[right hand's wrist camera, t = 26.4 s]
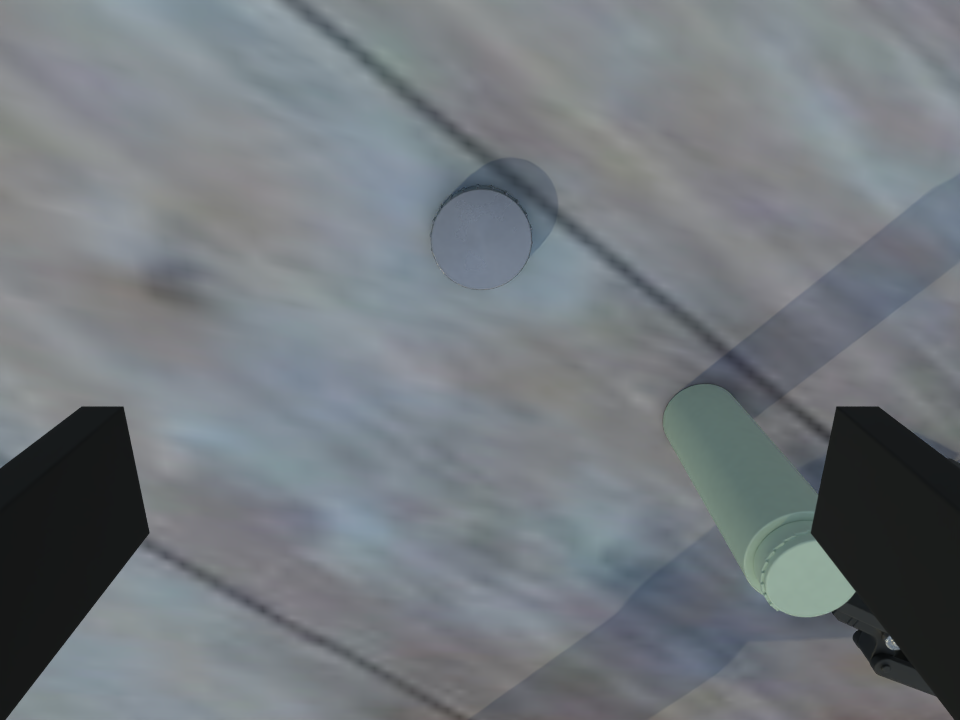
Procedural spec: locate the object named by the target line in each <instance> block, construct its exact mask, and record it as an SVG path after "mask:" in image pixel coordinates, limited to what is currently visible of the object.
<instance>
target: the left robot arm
mask: <svg viewBox="0 0 960 720" xmlns="http://www.w3.org/2000/svg"><path fill="white" fill-rule="evenodd" d="M948 460H949V461H951V462H952V463H953V464H955V465H956V466H957V467H958V468H960V463H958V462H956V461H954V460H952V459H948ZM832 613H833V615H834V616H835V617H836V618H837V619H838V620H839V621H841V622H843V623H847V624H848V625H850V626H853V627H854V628H857V629H859V630H858V631H856V632H855V633H854V635H853V641H854V642H855V644H856V645H857V646H858V648H860V649H861V651H862V652H863V654H864V655H865V657H866V658H867V660H868V661H869V662H870V665H871V667H872V668H873V670H874V671H875V673H876V674H878V675H880V676H883V677H886V678H888V679H891V680H894V681H896V682H899V683H902V684H904V685H907V686H910V687H912V688H915V689H918V690H920V691H923V692H926V693H928V694H931V695H934V696H936V695H935V694H934V692H933V691H932V690H931V689H930V687H929V686H928V685H927V683H926V682H925V681H924V680H923V678H922V677H921V676H920V674H919V673H918V672H917V670H916V669H915V668H914V667H913V665H912V664H911V663H910V661H909V660H908V659H907V657H906V656H905V655H904V654H903V652H902V651H901V650H900V648H899V647H898V646H897V645H896V643H895V642H894V641H893V639H892V638H891V637H890V635H889V634H888V633H887V632H886V630H885V629H884V628H883V626H882V625H881V624H880V622H879V621H878V620H877V619H876V617H875V616H874V615H873V613H872V612H871V611H870V610H869V608H868V607H867V606H866V604H865V603H864V602H863V600H862V599H861V598H860V597H859V595H858V594H857V593H856V592H855V593H854V595H853V596H852V597H851V598H850V599H849V600H848V601H847V602H846V603H845V604H843V605H842V606H841V607H839V608H837V609H836V610H834V611H832ZM936 697H937V696H936Z"/></svg>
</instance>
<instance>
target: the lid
mask: <svg viewBox="0 0 960 720" xmlns="http://www.w3.org/2000/svg"><path fill="white" fill-rule="evenodd" d="M439 209H440V210H439V212H438V214H437V216H436V217H434V219H433V222H434V224H433V227H432V231H431V233H430V237H431V247H432V248H431V251H432V252H433V255H434V258H435V260H436V263H437V264H438V266H439V268H440V269H441V270H442V272H443V273H444V274H445V275H446V276H447V277H448V278H449V279H451V280H452V281H453V282H455V283H457V284H459V285H461V286H463V287H466V288H470V289H476V290H487V289H493V288H497V287H499V286H502V285H504V284H506V283H508V282H509V281H511V280H512V279H513V278H514V277H515V276H517V275H518V274H519V272H520V271H521V270H522V269H523V267H524V265H525V264H526V262H527V260H528V258H529V254H530V251H531V245H532V243H533V242H532V235H531V230H532V227H531V225H530V224H529V222H528V219H527V217H526V216H528V215H527V213H526V211H523V209H522V207H521V206H520V205H519V202H518V200H517V199H516V200H515V199H514V198H513V197H512V196H510V195H509V194H507V191H505V192H504V191H502V190H500V189H497V188H494V187H493V186H492V185H491V187H489V186H479V184H478V185H477V186H474V187H469V188H466V189H465V187H464V188H463V189H462V190H461V191H459V192H457V193H455V194H454V195H452V194H451V195H450V197H449V199H448V200H447V201H446V202H445V203H444V204H443V205H442V204H441V205H440V208H439Z"/></svg>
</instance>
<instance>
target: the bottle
mask: <svg viewBox="0 0 960 720" xmlns="http://www.w3.org/2000/svg"><path fill="white" fill-rule="evenodd" d="M663 428H664V432H665V434H666V436H667V438H668V440H669V442H670V443H671V445H672V447H673V449H674V450H675V452H676V454H677V456H678V458H679V459H680V461H681V463H682V465H683V467H684V468H685V470H686V472H687V474H688V475H689V477H690V479H691V481H692V483H693V484H694V486H695V488H696V490H697V491H698V493H699V495H700V497H701V499H702V500H703V502H704V504H705V506H706V507H707V509H708V511H709V513H710V515H711V516H712V518H713V520H714V522H715V523H716V525H717V527H718V529H719V531H720V532H721V534H722V536H723V538H724V539H725V541H726V543H727V545H728V547H729V548H730V550H731V552H732V554H733V555H734V557H735V559H736V561H737V563H738V564H739V566H740V568H741V570H742V571H743V573H744V575H745V577H746V579H747V580H748V582H749V583H750V585H751V586H752V587H753V588H754V589H755V590H756V591H758V592H759V593H760V594H762V595H764V597H765V598H766V600H767V601H768V603H769V605H770V606H772V607H773V608H774V609H776V610H777V611H779V610H781V611H782V612H784V613H786V614H789V615H792V616H797V617H815V616H820V615H824V614H827V613H829V612H832V611H834V610H836V609H837V608H839V607H841V606H842V605H843V604H845V603H846V602H847V601H848V600H849V599H850V598H851V597H852V596H853V595H854V593H855V592H856V591H855V590H854V589H853V587H852V586H851V585H850V584H849V582H848V581H847V580H846V578H845V577H844V576H843V575H842V573H841V572H840V571H839V569H838V568H837V567H836V565H835V564H834V563H833V562H832V560H831V559H830V558H829V556H828V555H827V554H826V552H825V551H824V550H823V549H822V547H821V546H820V545H819V543H818V542H817V541H816V539H815V538H814V537H813V536H812V534H811V528H812V523H813V518H814V513H815V509H816V504H817V499H818V494H817V493H816V491H815V490H814V489H813V488H812V487H811V486H810V485H809V483H808V482H807V481H806V480H805V479H804V478H803V476H802V475H801V474H800V473H799V472H798V471H797V470H796V468H795V467H794V466H793V465H792V464H791V463H790V461H789V460H788V459H787V458H786V457H785V456H784V455H783V453H782V452H781V451H780V450H779V449H778V448H777V446H776V445H775V444H774V443H773V442H772V441H771V440H770V438H769V437H768V436H767V435H766V434H765V433H764V431H763V430H762V429H761V428H760V427H759V426H758V425H757V423H756V422H755V421H754V420H753V419H752V418H751V416H750V415H749V414H748V413H747V412H746V411H745V410H744V408H743V407H742V406H741V405H740V404H739V403H738V401H737V400H736V399H735V398H734V397H733V396H732V395H731V394H730V393H729V392H728V391H727V390H725V389H724V388H722V387H719V386H716V385H712V384H698V385H694V386H691V387H688V388H686V389H684V390H682V391H681V392H679V393H678V394H677V395H675V396H674V397H673V399H672V400H671V401H670V402H669V404H668V406H667V407H666V410H665V412H664V416H663Z"/></svg>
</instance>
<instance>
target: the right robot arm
mask: <svg viewBox="0 0 960 720" xmlns="http://www.w3.org/2000/svg"><path fill="white" fill-rule="evenodd" d="M148 534H149V528H148V523H147V518H146V513H145V509H144V504H143V499H142V494H141V489H140V484H139V480H138V475H137V470H136V465H135V460H134V455H133V450H132V446H131V441H130V436H129V431H128V426H127V421H126V417H125V412H124V407H81V408H79V409H78V410H77V411H75V412H74V413H73V414H71V415H70V416H69V417H67V418H66V419H65V420H63V421H62V422H61V423H60V424H58V425H57V426H56V427H54V428H53V429H52V430H50V431H49V432H48V433H46V434H45V435H44V436H42V437H41V438H40V439H38V440H37V441H36V442H34V443H33V444H32V445H31V446H29V447H28V448H27V449H25V450H24V451H23V452H21V453H20V454H19V455H17V456H16V457H15V458H13V459H12V460H11V461H9V462H8V463H7V464H5V465H4V466H3V467H2V468H0V720H6V718H7V717H8V716H9V715H10V713H11V712H12V711H13V709H14V708H15V707H16V705H17V704H18V703H19V702H20V700H21V699H22V698H23V696H24V695H25V694H26V692H27V691H28V690H29V689H30V687H31V686H32V685H33V683H34V682H35V681H36V680H37V678H38V677H39V676H40V674H41V673H42V672H43V670H44V669H45V668H46V667H47V665H48V664H49V663H50V661H51V660H52V659H53V657H54V656H55V655H56V654H57V652H58V651H59V650H60V648H61V647H62V646H63V645H64V643H65V642H66V641H67V639H68V638H69V637H70V635H71V634H72V633H73V632H74V630H75V629H76V628H77V626H78V625H79V624H80V622H81V621H82V620H83V619H84V617H85V616H86V615H87V613H88V612H89V611H90V610H91V608H92V607H93V606H94V604H95V603H96V602H97V600H98V599H99V598H100V597H101V595H102V594H103V593H104V591H105V590H106V589H107V587H108V586H109V585H110V584H111V582H112V581H113V580H114V578H115V577H116V576H117V575H118V573H119V572H120V571H121V569H122V568H123V567H124V565H125V564H126V563H127V562H128V560H129V559H130V558H131V556H132V555H133V554H134V552H135V551H136V550H137V549H138V547H139V546H140V545H141V543H142V542H143V541H144V539H145V538H146V537H147V536H148ZM811 534H812V536H813V537H814V538H815V539H816V541H817V542H818V543H819V545H820V546H821V547H822V549H823V550H824V551H825V552H826V554H827V555H828V556H829V558H830V559H831V560H832V562H833V563H834V564H835V565H836V567H837V568H838V569H839V571H840V572H841V573H842V575H843V576H844V577H845V578H846V580H847V581H848V582H849V584H850V585H851V586H852V587H853V589H854V590H855V591H856V593H857V594H858V595H859V597H860V598H861V599H862V600H863V602H864V603H865V604H866V606H867V607H868V608H869V610H870V611H871V612H872V613H873V615H874V616H875V617H876V619H877V620H878V621H879V622H880V624H881V625H882V626H883V628H884V629H885V630H886V632H887V633H888V634H889V635H890V637H891V638H892V639H893V641H894V642H895V643H896V645H897V646H898V647H899V648H900V650H901V651H902V652H903V654H904V655H905V656H906V657H907V659H908V660H909V661H910V663H911V664H912V665H913V667H914V668H915V669H916V670H917V672H918V673H919V674H920V676H921V677H922V678H923V680H924V681H925V682H926V683H927V685H928V686H929V687H930V689H931V690H932V691H933V692H934V694H935V695H936V696H937V698H938V699H939V700H940V702H941V703H942V704H943V705H944V707H945V708H946V709H947V711H948V712H949V713H950V715H951V716H952V717H953V718H954V720H960V468H958V467H957V466H956V465H955V464H953V463H952V462H951V461H949V460H948V459H947V458H945V457H944V456H943V455H941V454H940V453H939V452H937V451H936V450H935V449H933V448H932V447H931V446H929V445H928V444H927V443H926V442H924V441H923V440H922V439H920V438H919V437H918V436H916V435H915V434H914V433H912V432H911V431H910V430H908V429H907V428H906V427H904V426H903V425H902V424H900V423H899V422H898V421H897V420H895V419H894V418H893V417H891V416H890V415H889V414H887V413H886V412H885V411H883V410H882V409H881V408H879V407H836V412H835V417H834V421H833V426H832V431H831V436H830V441H829V446H828V450H827V455H826V460H825V465H824V470H823V475H822V480H821V484H820V489H819V494H818V499H817V504H816V509H815V513H814V518H813V523H812V528H811Z"/></svg>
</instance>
